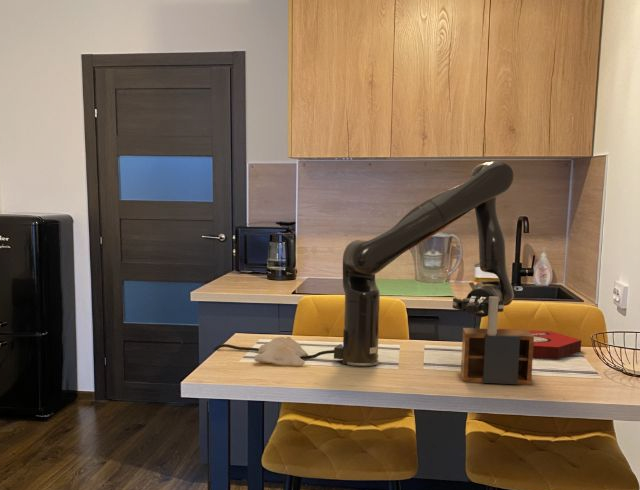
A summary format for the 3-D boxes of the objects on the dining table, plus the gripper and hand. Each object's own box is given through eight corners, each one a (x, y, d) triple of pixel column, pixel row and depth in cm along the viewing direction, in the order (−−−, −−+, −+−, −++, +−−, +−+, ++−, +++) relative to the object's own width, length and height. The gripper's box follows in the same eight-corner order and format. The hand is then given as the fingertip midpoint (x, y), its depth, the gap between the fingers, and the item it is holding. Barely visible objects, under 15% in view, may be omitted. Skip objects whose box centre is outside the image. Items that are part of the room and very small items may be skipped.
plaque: (461, 341, 232) (516, 361, 204) (462, 330, 232) (517, 349, 203) (535, 337, 240) (598, 357, 211) (536, 327, 239) (599, 345, 210)
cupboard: (463, 381, 181) (465, 333, 180) (460, 373, 189) (462, 327, 187) (531, 384, 179) (534, 336, 177) (525, 377, 187) (528, 330, 185)
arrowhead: (252, 348, 195) (266, 326, 225) (252, 367, 196) (266, 342, 225) (306, 351, 194) (313, 328, 223) (305, 370, 195) (312, 345, 224)
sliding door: (483, 383, 179) (487, 297, 176) (482, 381, 181) (486, 296, 178) (517, 385, 177) (522, 298, 174) (516, 382, 179) (521, 297, 176)
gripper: (458, 284, 193) (444, 292, 177) (510, 287, 187) (501, 295, 172) (457, 313, 194) (442, 322, 178) (509, 316, 188) (499, 327, 173)
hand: (471, 309), depth 175 cm, fingers closed
